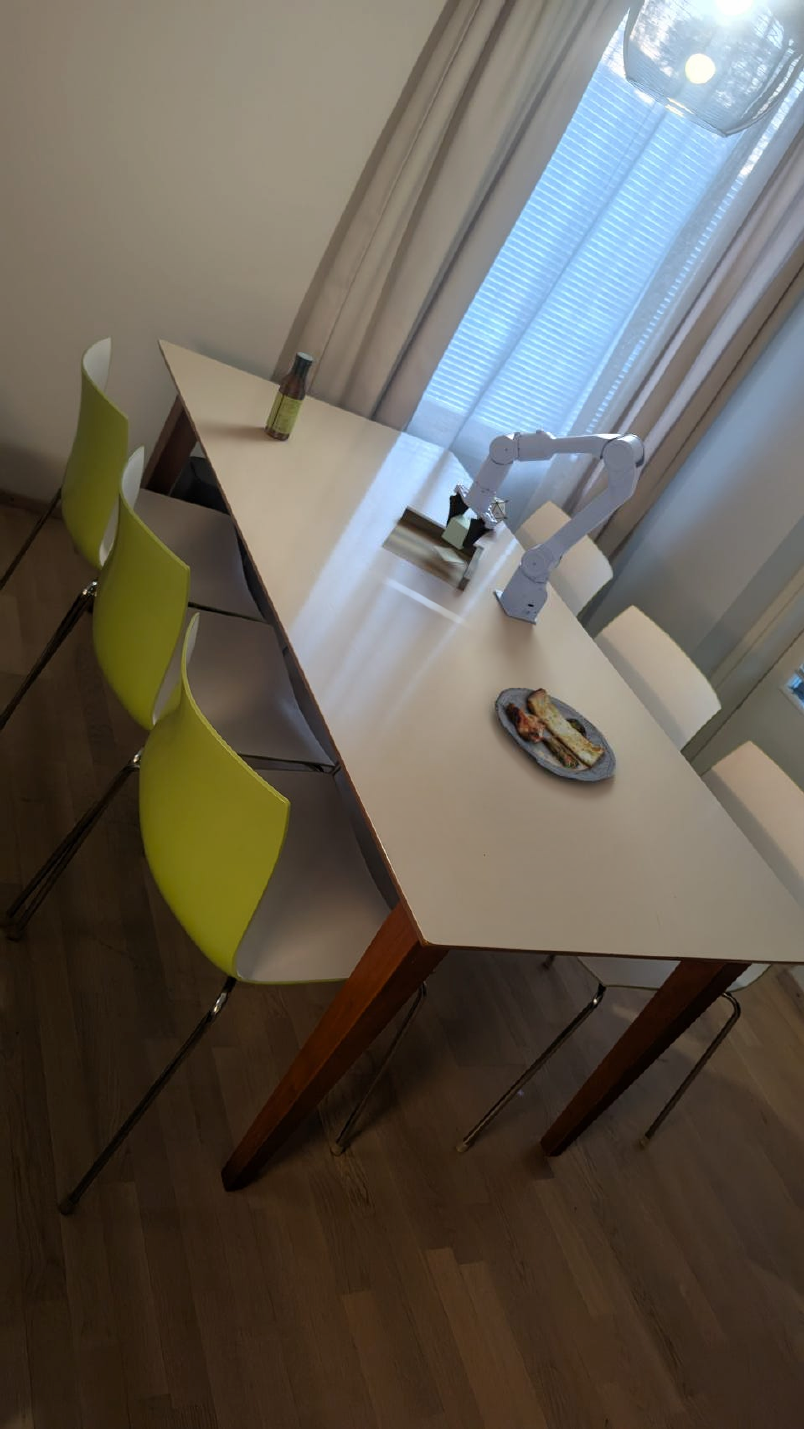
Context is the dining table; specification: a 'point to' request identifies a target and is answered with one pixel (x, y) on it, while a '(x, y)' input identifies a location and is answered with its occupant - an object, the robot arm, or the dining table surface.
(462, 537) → the sage cube
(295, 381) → the sauce bottle
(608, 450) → the robot arm
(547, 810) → the dining table surface
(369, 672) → the dining table surface
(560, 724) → the food plate
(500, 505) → the game die
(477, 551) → the arena
